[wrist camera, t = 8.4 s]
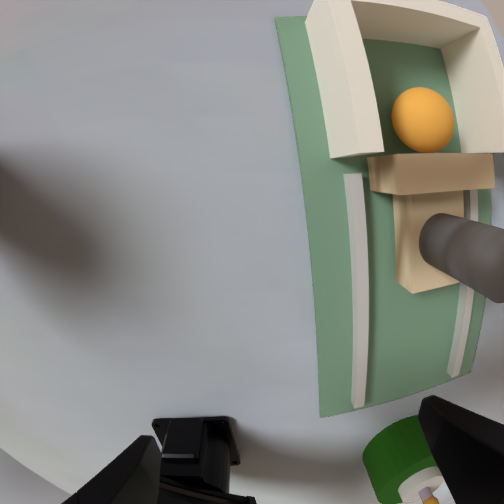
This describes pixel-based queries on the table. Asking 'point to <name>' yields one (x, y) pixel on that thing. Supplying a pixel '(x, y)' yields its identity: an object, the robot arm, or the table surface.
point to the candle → (402, 464)
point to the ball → (423, 119)
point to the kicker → (440, 221)
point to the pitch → (378, 203)
